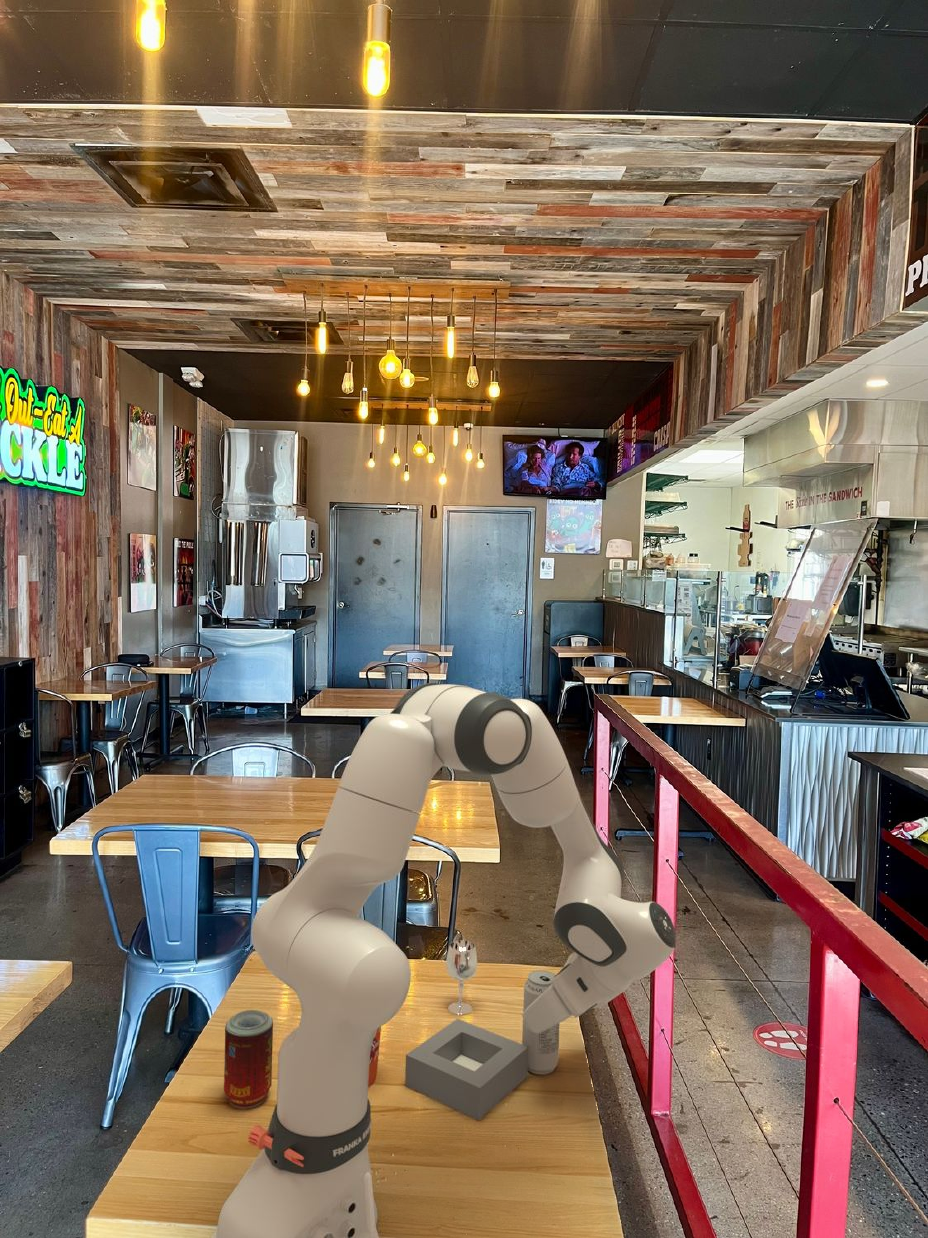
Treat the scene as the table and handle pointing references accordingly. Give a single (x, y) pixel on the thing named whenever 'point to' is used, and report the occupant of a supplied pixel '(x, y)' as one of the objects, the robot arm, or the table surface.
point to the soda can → (248, 1058)
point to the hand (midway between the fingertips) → (538, 1015)
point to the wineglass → (461, 970)
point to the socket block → (466, 1068)
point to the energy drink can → (547, 1042)
